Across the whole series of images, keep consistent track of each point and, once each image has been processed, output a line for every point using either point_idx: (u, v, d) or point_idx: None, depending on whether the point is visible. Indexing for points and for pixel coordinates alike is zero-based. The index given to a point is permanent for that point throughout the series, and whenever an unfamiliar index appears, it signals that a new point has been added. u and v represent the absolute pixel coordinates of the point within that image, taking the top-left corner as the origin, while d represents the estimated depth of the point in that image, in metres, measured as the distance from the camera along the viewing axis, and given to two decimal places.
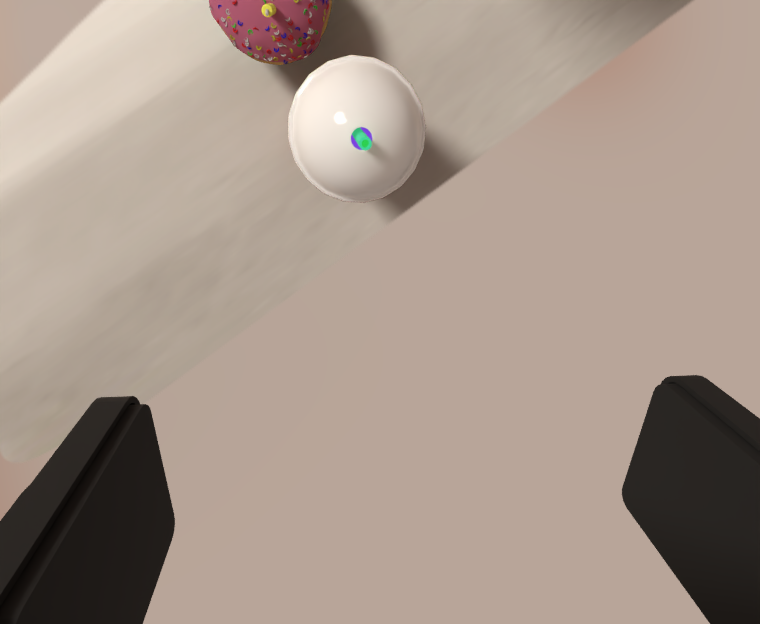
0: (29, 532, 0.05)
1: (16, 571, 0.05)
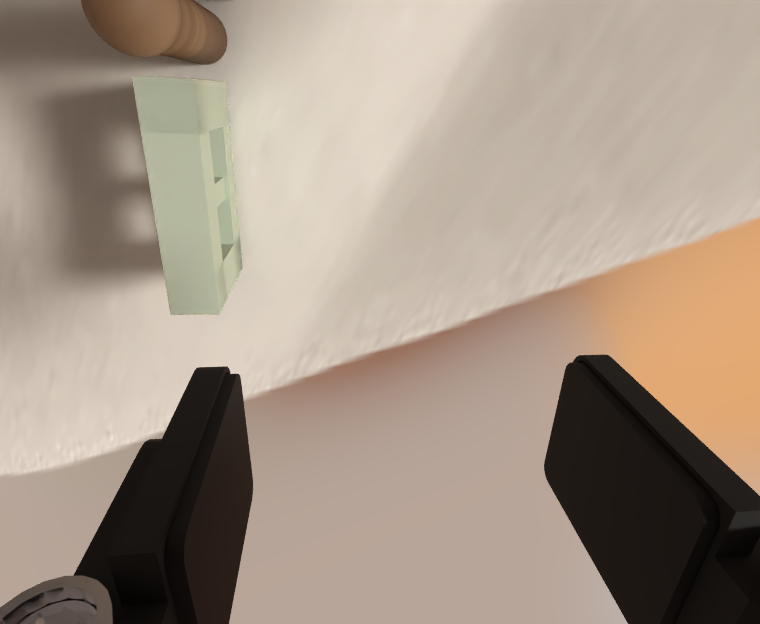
0: (176, 471, 0.06)
1: (176, 499, 0.06)
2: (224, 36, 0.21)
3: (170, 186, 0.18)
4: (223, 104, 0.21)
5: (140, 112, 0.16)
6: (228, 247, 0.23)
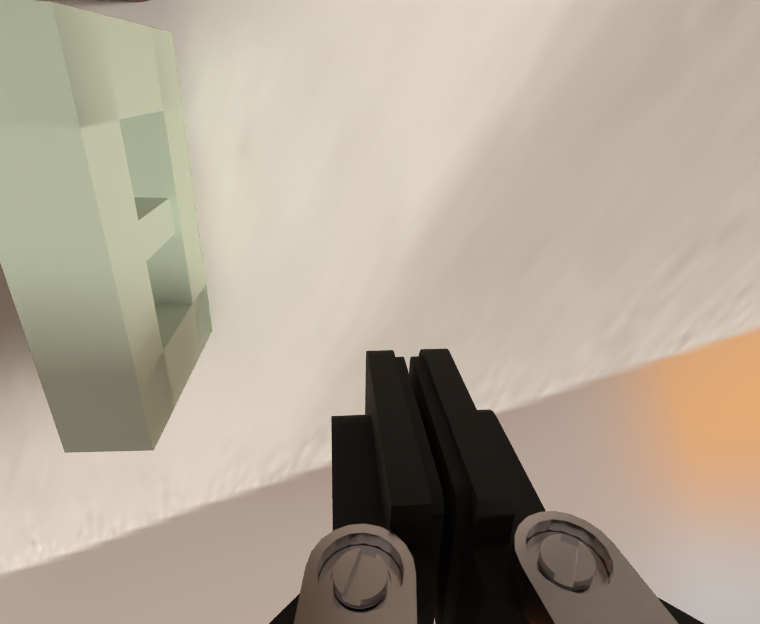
0: (405, 438, 0.07)
1: (421, 461, 0.06)
2: None
3: (33, 233, 0.09)
4: (165, 71, 0.12)
5: None
6: (182, 312, 0.14)
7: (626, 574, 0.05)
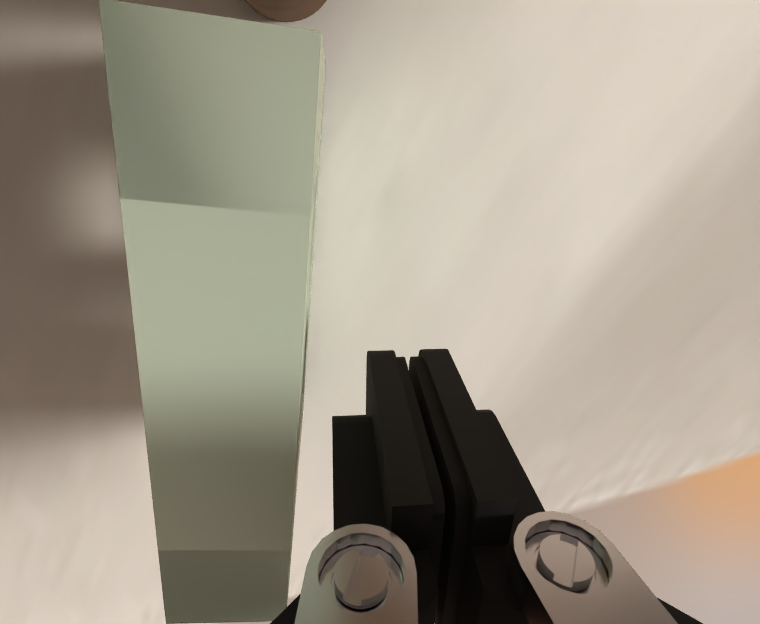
0: (406, 438, 0.07)
1: (422, 460, 0.06)
2: None
3: (200, 355, 0.06)
4: None
5: (123, 133, 0.05)
6: None
7: (625, 574, 0.05)
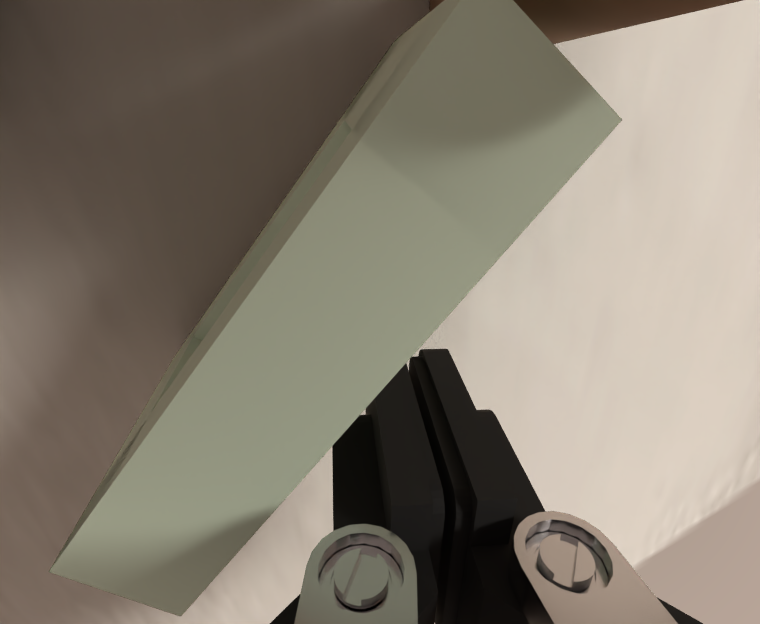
0: (406, 438, 0.07)
1: (422, 460, 0.06)
2: None
3: (312, 320, 0.05)
4: None
5: (410, 89, 0.04)
6: None
7: (625, 574, 0.05)
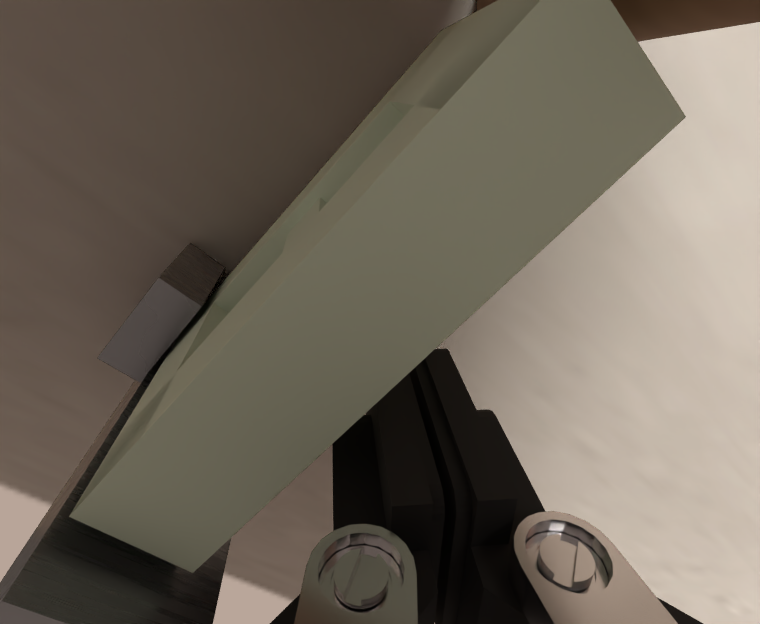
0: (406, 438, 0.07)
1: (422, 461, 0.06)
2: None
3: (368, 283, 0.05)
4: None
5: (495, 64, 0.05)
6: None
7: (626, 574, 0.05)
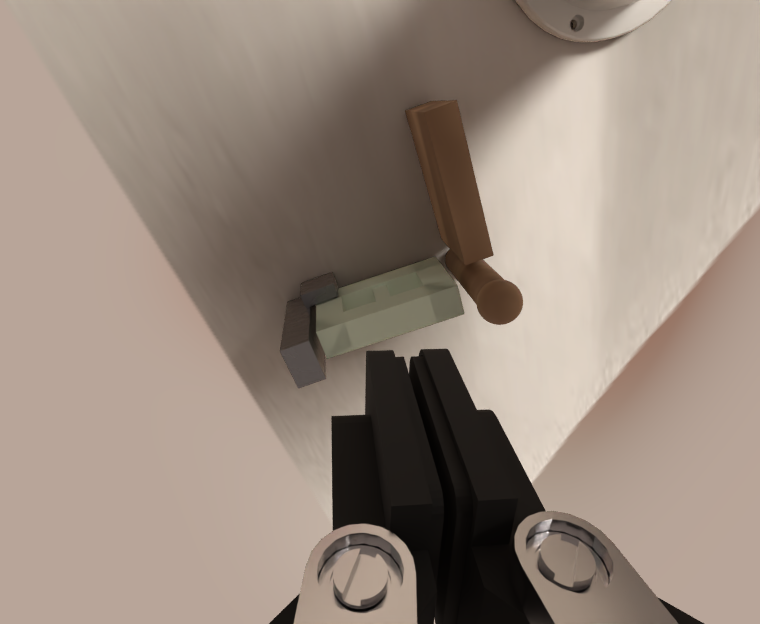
0: (406, 438, 0.07)
1: (421, 461, 0.06)
2: None
3: (402, 315, 0.29)
4: None
5: (439, 292, 0.28)
6: None
7: (626, 574, 0.05)
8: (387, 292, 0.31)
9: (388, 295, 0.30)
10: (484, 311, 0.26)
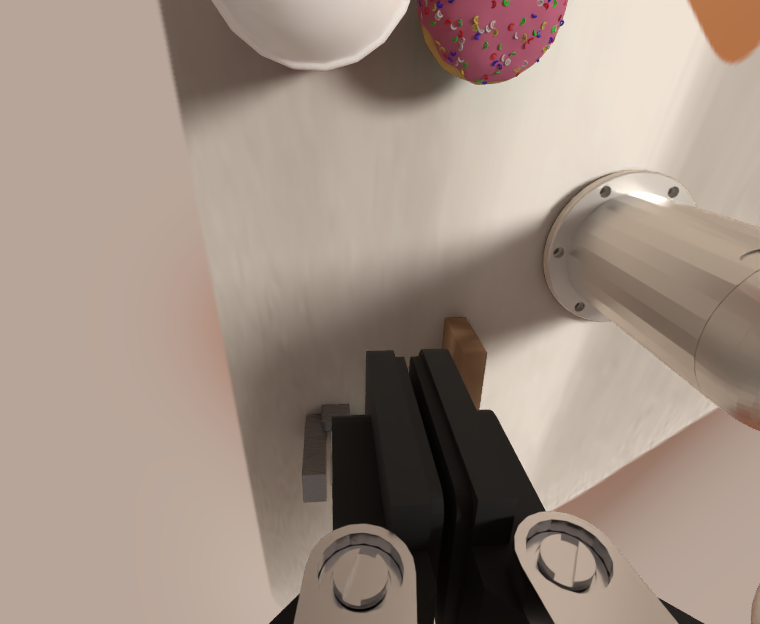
0: (406, 438, 0.07)
1: (421, 461, 0.06)
2: None
3: None
4: None
5: None
6: None
7: (626, 574, 0.05)
8: None
9: None
10: None
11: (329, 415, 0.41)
